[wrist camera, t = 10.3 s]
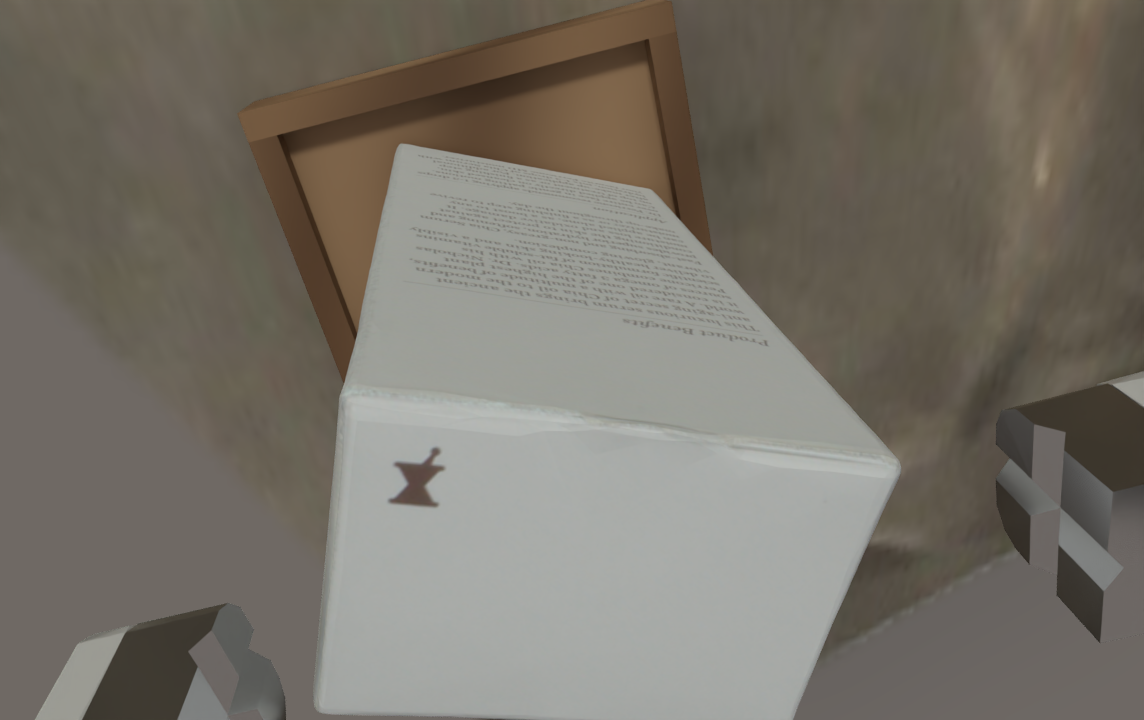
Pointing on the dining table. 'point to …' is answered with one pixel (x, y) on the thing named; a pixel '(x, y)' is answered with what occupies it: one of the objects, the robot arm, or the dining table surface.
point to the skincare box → (578, 467)
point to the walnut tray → (475, 136)
